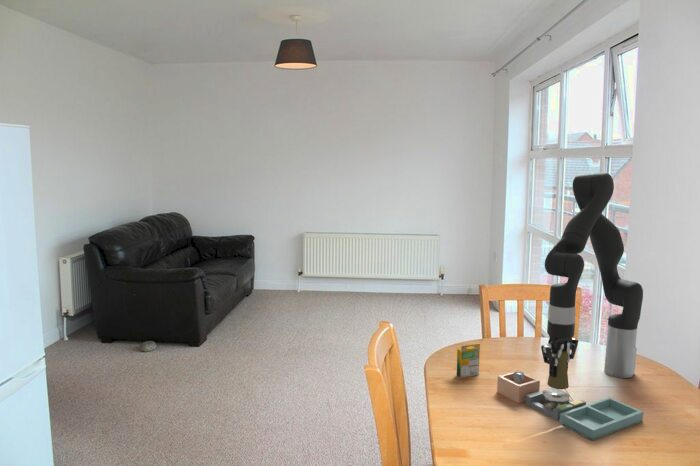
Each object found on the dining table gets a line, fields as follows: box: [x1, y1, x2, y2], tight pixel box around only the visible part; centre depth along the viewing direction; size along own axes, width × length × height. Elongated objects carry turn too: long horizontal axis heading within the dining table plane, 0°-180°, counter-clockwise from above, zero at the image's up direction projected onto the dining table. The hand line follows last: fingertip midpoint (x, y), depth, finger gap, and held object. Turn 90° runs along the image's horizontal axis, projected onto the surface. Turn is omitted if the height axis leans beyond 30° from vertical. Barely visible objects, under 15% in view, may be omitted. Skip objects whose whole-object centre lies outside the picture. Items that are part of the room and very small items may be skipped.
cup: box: [496, 370, 541, 404], centre depth 175 cm, size 9×9×6 cm
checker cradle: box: [525, 387, 587, 422], centre depth 167 cm, size 12×12×4 cm
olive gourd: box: [547, 351, 570, 390], centre depth 165 cm, size 6×6×11 cm
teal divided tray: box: [559, 396, 644, 441], centre depth 159 cm, size 22×11×3 cm, turn 120°
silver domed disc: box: [542, 388, 571, 408], centre depth 166 cm, size 8×8×4 cm
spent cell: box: [513, 370, 525, 384], centre depth 175 cm, size 3×3×7 cm
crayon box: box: [456, 343, 481, 378], centre depth 191 cm, size 7×3×12 cm, turn 108°
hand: (558, 374), depth 165 cm, fingers closed on olive gourd, 4 cm apart
